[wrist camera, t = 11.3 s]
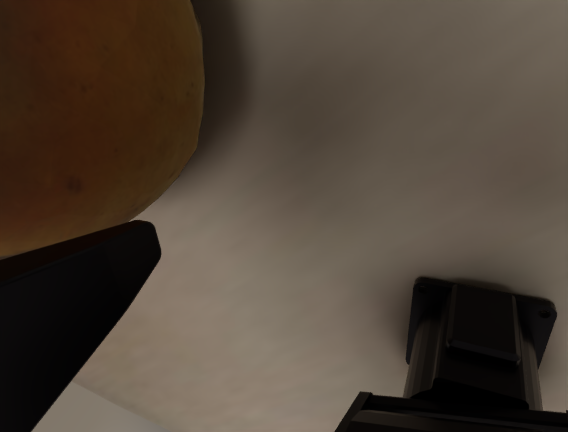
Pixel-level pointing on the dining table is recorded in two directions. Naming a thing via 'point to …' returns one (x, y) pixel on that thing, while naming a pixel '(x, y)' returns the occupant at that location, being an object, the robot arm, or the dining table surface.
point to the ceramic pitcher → (93, 113)
